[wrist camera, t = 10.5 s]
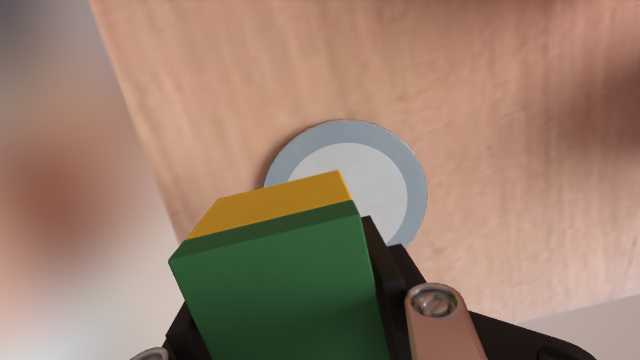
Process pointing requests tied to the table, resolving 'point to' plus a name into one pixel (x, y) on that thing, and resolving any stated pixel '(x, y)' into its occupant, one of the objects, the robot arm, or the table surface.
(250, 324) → the sponge
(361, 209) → the plate
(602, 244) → the table surface
